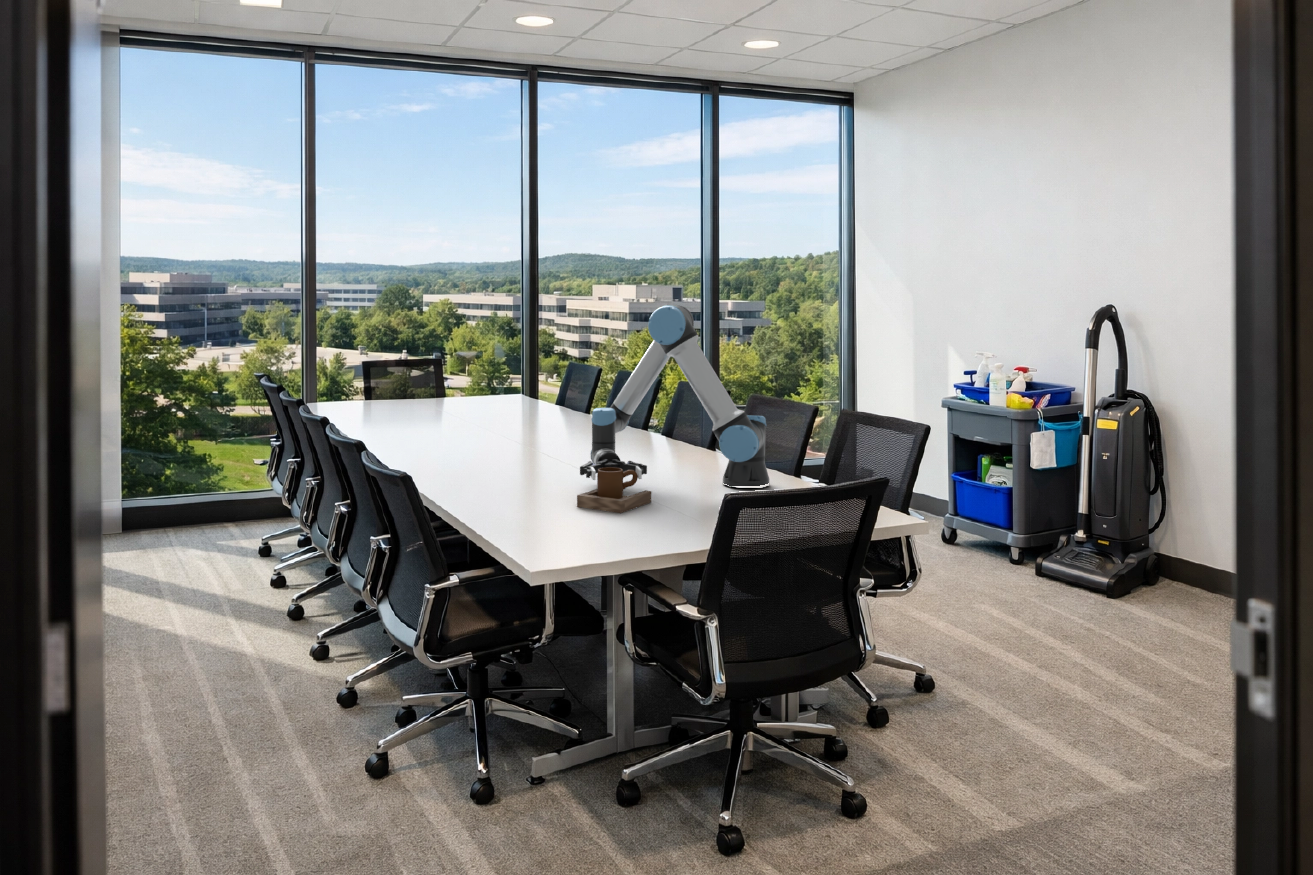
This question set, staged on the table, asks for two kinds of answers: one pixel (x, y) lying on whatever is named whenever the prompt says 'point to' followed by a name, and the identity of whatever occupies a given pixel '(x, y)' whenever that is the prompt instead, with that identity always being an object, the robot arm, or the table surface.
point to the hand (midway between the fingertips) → (617, 475)
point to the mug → (613, 482)
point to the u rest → (613, 501)
